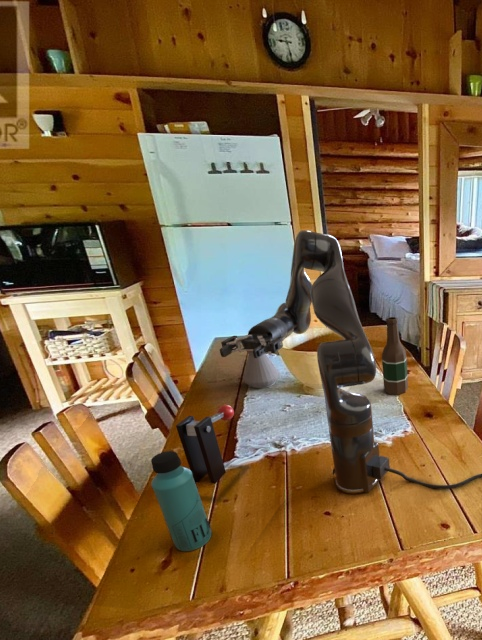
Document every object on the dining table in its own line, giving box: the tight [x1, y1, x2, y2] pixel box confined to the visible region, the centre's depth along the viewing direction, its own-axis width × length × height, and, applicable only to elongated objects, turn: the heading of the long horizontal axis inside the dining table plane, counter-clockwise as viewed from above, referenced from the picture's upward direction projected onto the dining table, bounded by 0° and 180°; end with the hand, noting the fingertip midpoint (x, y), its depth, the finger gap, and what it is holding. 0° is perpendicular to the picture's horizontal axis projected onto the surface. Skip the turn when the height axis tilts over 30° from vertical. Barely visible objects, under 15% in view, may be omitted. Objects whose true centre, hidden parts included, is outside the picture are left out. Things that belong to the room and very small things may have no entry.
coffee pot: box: [242, 330, 280, 389], centre depth 149 cm, size 21×12×15 cm, turn 25°
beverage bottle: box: [150, 450, 213, 552], centre depth 78 cm, size 6×7×20 cm
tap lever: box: [186, 404, 235, 436], centre depth 99 cm, size 14×4×4 cm, turn 174°
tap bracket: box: [175, 415, 227, 485], centre depth 96 cm, size 12×10×16 cm
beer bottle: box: [381, 316, 409, 396], centre depth 138 cm, size 8×8×24 cm
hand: (238, 353), depth 108 cm, fingers open, 8 cm apart
